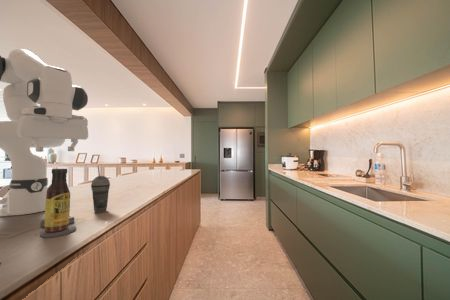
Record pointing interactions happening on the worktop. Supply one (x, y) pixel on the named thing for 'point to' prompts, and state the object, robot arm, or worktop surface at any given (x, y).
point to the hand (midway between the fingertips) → (56, 151)
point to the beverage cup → (100, 193)
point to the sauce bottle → (57, 202)
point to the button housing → (71, 220)
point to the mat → (58, 232)
